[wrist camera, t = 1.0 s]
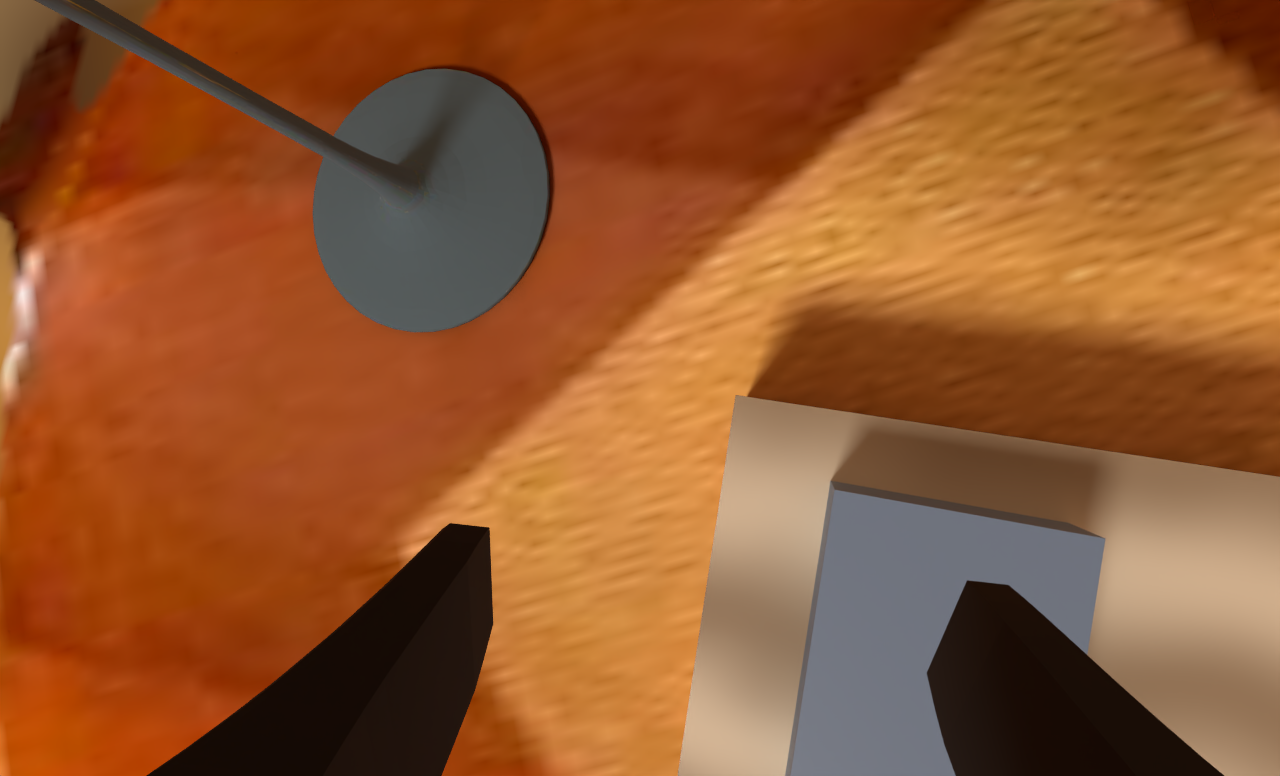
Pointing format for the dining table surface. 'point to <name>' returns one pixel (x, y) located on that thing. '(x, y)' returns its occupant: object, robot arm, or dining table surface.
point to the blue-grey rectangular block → (914, 619)
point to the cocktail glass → (399, 183)
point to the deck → (1011, 482)
